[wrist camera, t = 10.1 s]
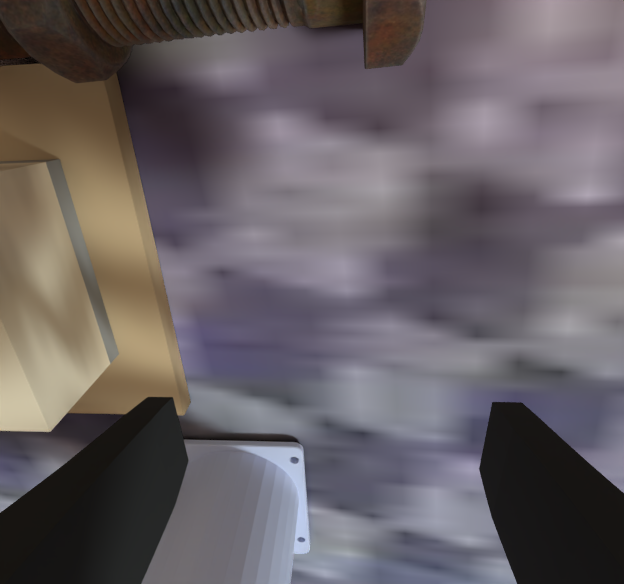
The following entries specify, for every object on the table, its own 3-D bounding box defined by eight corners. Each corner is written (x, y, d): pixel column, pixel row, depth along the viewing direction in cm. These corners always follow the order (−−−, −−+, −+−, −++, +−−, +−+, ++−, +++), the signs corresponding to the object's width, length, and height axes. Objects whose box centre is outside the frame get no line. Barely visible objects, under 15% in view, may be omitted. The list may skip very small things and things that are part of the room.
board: (190, 402, 22) (183, 415, 21) (18, 399, 22) (4, 411, 21) (114, 62, 15) (98, 59, 14) (-132, 76, 15) (-162, 75, 15)
